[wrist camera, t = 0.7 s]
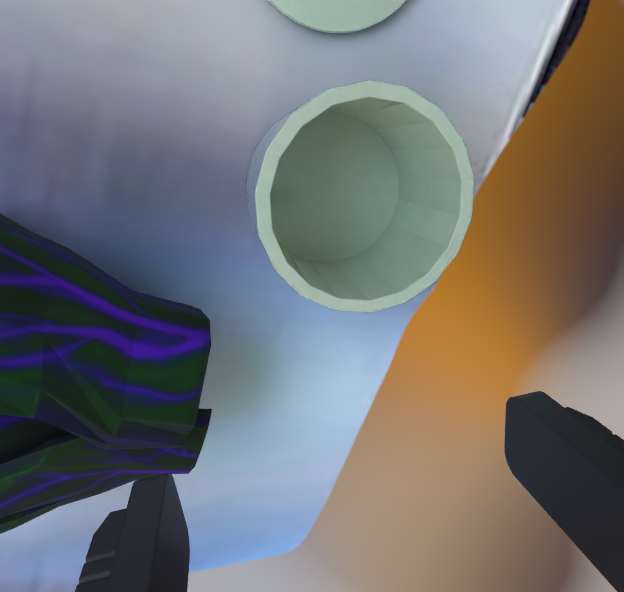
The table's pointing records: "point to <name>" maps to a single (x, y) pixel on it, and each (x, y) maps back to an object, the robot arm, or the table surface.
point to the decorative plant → (89, 379)
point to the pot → (361, 195)
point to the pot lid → (337, 13)
